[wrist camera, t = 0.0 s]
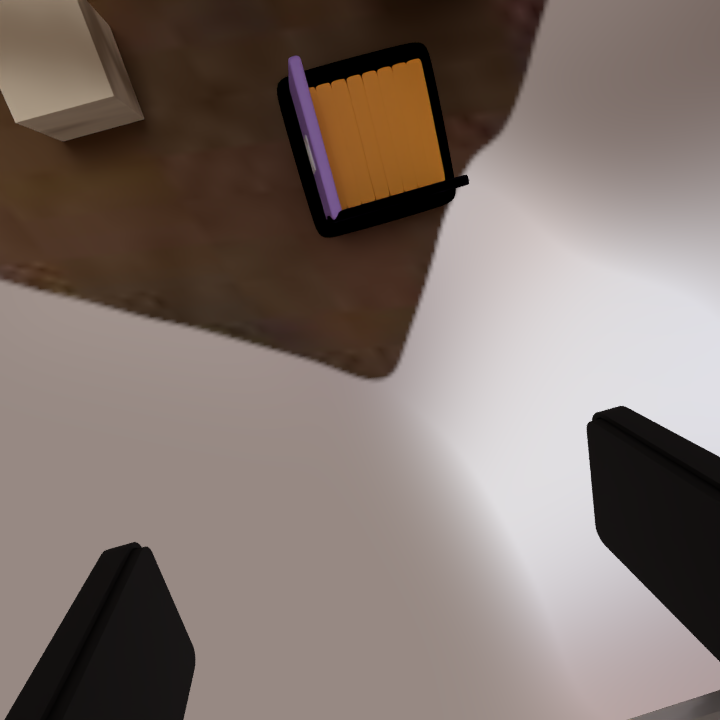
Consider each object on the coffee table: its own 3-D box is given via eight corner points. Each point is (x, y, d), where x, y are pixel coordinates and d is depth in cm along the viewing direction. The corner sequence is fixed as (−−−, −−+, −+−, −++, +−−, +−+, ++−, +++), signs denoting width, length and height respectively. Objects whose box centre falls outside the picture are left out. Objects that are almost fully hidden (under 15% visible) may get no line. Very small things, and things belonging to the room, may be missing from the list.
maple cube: (69, -19, 27) (109, 26, 32) (-36, 9, 26) (23, 49, 32) (114, 95, 28) (144, 119, 34) (15, 122, 28) (63, 141, 34)
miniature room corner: (318, 241, 38) (324, 244, 32) (271, 81, 35) (266, 47, 28) (457, 201, 39) (490, 196, 32) (425, 39, 35) (454, -3, 29)
